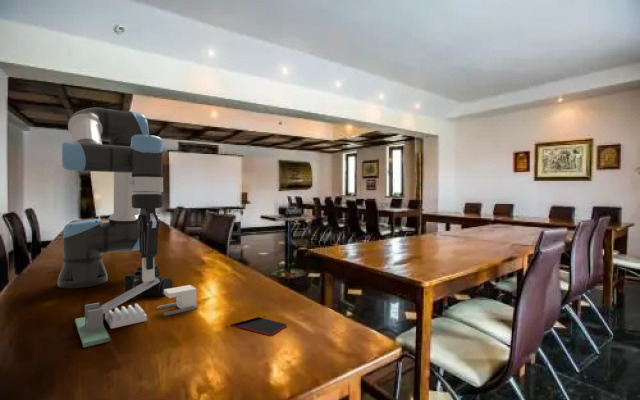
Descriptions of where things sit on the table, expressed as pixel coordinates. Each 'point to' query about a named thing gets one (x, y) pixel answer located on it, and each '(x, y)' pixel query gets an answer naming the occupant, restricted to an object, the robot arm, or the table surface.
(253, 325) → the smartphone
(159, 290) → the camera
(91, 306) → the heatsink board
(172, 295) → the white stepped block
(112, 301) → the grey board dark edge
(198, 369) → the table surface
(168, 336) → the table surface
